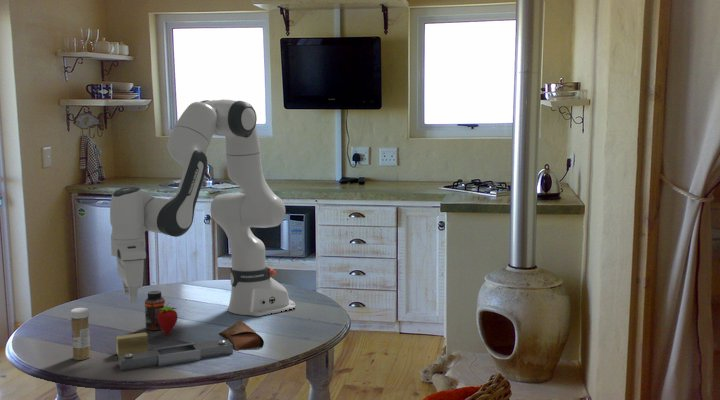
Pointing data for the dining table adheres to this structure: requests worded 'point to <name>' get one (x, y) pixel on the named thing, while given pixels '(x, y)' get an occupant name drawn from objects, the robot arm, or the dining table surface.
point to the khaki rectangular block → (132, 343)
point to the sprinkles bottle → (80, 333)
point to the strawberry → (167, 318)
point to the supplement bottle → (153, 309)
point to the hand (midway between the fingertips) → (130, 297)
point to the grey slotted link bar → (175, 354)
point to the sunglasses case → (242, 336)
